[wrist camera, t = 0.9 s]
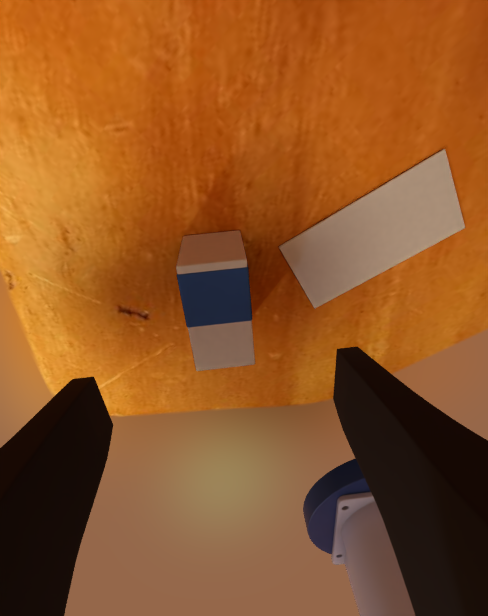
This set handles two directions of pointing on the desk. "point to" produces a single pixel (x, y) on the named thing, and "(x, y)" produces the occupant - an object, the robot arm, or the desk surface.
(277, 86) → the desk surface
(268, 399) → the desk surface
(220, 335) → the eraser
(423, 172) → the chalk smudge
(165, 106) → the desk surface
